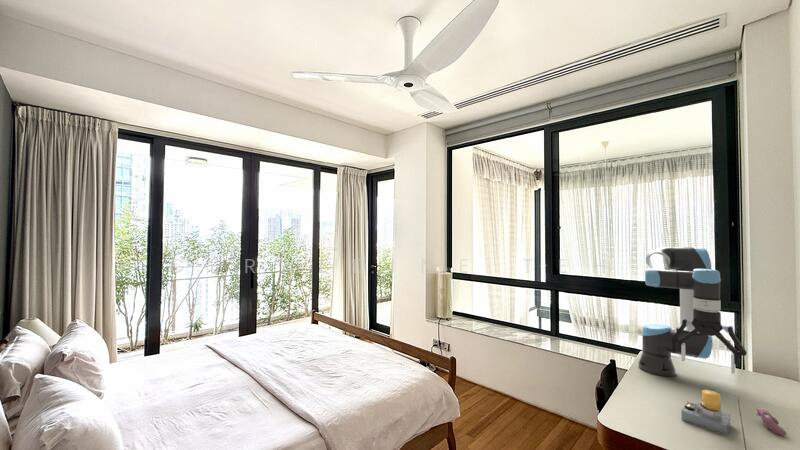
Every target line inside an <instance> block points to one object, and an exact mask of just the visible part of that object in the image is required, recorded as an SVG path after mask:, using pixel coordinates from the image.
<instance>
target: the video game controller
mask: <svg viewBox="0 0 800 450" xmlns="http://www.w3.org/2000/svg"><path fill="white" fill-rule="evenodd" d="M755 415H756V416H757V417H760V420H761V421H762V423H763V424H764V427H765V428H767V430H771V431H773V433H775V434H776V435H779V434H780V435H779V436H782V435H785V436H786V435H787V434H786V431H785V430H784V429H783V428H782V427H781V426H780V425H779V423H780V422H779V421H778V419H777V418H775V417H774V416H773V415H772V413H770V412H769V411H768V410H767V409H765V408H761V407H760V408H756V412H755Z"/></svg>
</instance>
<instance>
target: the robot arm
mask: <svg viewBox="0 0 800 450" xmlns="http://www.w3.org/2000/svg"><path fill="white" fill-rule="evenodd" d="M645 261H646V264H647V266H648V268H647V269H645V271H644V276H645V277H644V279H645V280H644V282H645V285H646V286H649V287H654V288H667V289H678V290H679V320H680V321H679V324H678V325H676V329H672V328H671V326H669V325H665V324H657V323H654V324H653V323H651V324H650V323H649V324H645V325H643V327H642V332H641V335H642V349H641V351H642V353H641V355H640V358H639V360H638V368H639V369H640V370H642V371H644V372H647V373H648V374H652V375H657V376H662V377H675V376H676V373H677V372H676V368H675V365H674V363H673V360H672V354H675V355H681V362H684V363H685V361H686V356H687V357H692V358H694V359H697V358H698V359H703V360H704V359H708V358H710V356H711V355H712V354H711V353H712V352H713V351H712V350H713V337H714V336H715V337H716V338H717V339H719V341H720V342H721V343H722V344H724V346H726V348H727V349H728V350H729V351H730V352H731V355H730V364H731V365H730V368H731V369H730V372H731V374H734V375H735V373H736V365H737V366H739V365H740V356H744V357H745V356H746V355H747V353H748V352H747V350H746V349H745V347H744V345H743V344H742V343H741V341H740V340H739V338H738V336H737V335H736V334H735V332H734V326H732V325H728V326H727V325H722V319H721V318H722V316H721V312H720V311H721V309H722V307H721V304H722V303H721V281H722V279H721V272H720V271H719V270H717V269H712V262H711V258H710V254H709V252H708V250H707V249H706V248H705V247H695V246H694V247H692V246H691V247H687V246H685V247H684V246H683V247H682V246H662V247H658V248H656V249H653V250H651V251H649V253H648V254H647V255H646V257H645ZM723 330H724V331H725V333H727V334H728V335H729V337H730V338H731V340H732V341H733V343H734V345H735V346H736V348H737V349H736V348H735V346H734V345H733V344H732V343H731V342H730V341H729V340H728V339H727V338H726V337H725V336H724V335H723V334H722V333H721V332H722V331H723Z"/></svg>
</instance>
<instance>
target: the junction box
mask: <svg viewBox="0 0 800 450" xmlns="http://www.w3.org/2000/svg"><path fill="white" fill-rule="evenodd" d="M681 421H684V422H687V423H689V424H692V425H694V426H697V427H700V428H704V429H706V430H708V431H709V430H710V431H712V432H715V433H718V434H720V435H722V436H728V432H729V430H730V427H731V414H728V413H725V412H723V409H721V410H717V411H714V410H709V409H706V407H705V406H703V405H702V402H700V401H699V402H697V403H693V402H690V401H686V403H685V404H684V406H683V407H682V409H681Z"/></svg>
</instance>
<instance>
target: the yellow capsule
mask: <svg viewBox="0 0 800 450" xmlns="http://www.w3.org/2000/svg"><path fill="white" fill-rule="evenodd" d="M721 398H722V395H721V394H720V393H718V392H717V391H713V390H709V389H702V390H701V403H702V405H703V406H705V407H706V409H709V410H714V411H717V410H722V400H721Z"/></svg>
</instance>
